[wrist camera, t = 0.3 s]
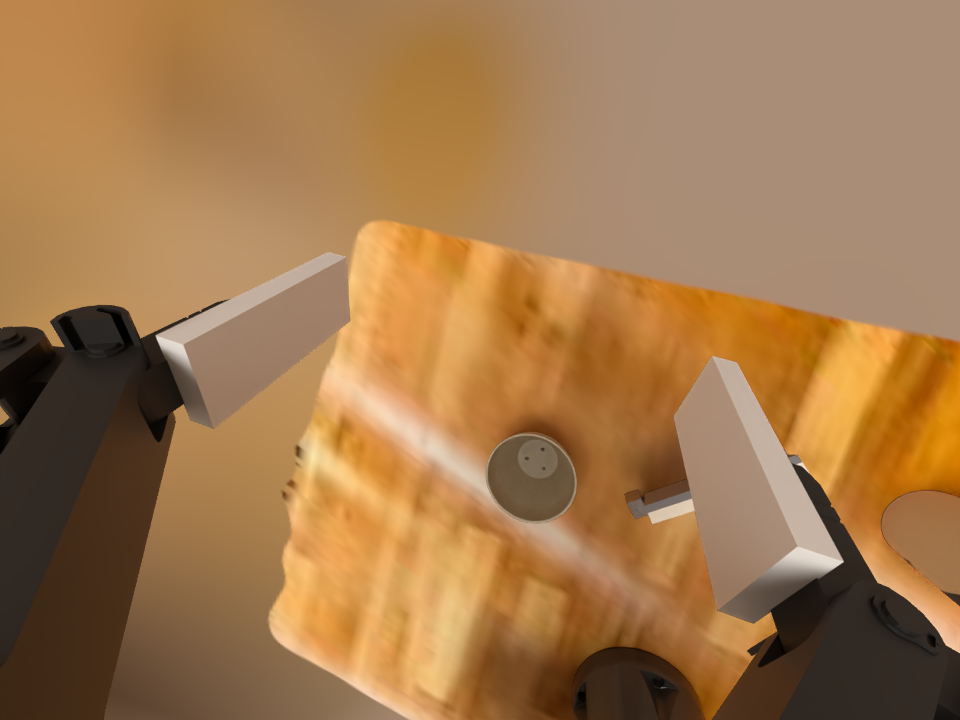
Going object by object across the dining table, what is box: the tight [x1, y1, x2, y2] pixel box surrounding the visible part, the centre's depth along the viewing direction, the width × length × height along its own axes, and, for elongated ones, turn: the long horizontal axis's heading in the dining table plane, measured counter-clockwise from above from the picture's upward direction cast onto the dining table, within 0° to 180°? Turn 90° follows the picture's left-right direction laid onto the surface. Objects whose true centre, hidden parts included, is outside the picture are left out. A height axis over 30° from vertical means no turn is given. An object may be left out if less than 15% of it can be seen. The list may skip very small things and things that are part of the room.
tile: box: [644, 455, 810, 524], centre depth 35 cm, size 12×12×2 cm
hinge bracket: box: [625, 449, 787, 519], centre depth 41 cm, size 2×17×2 cm, turn 117°
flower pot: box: [486, 432, 577, 523], centre depth 44 cm, size 10×10×7 cm
